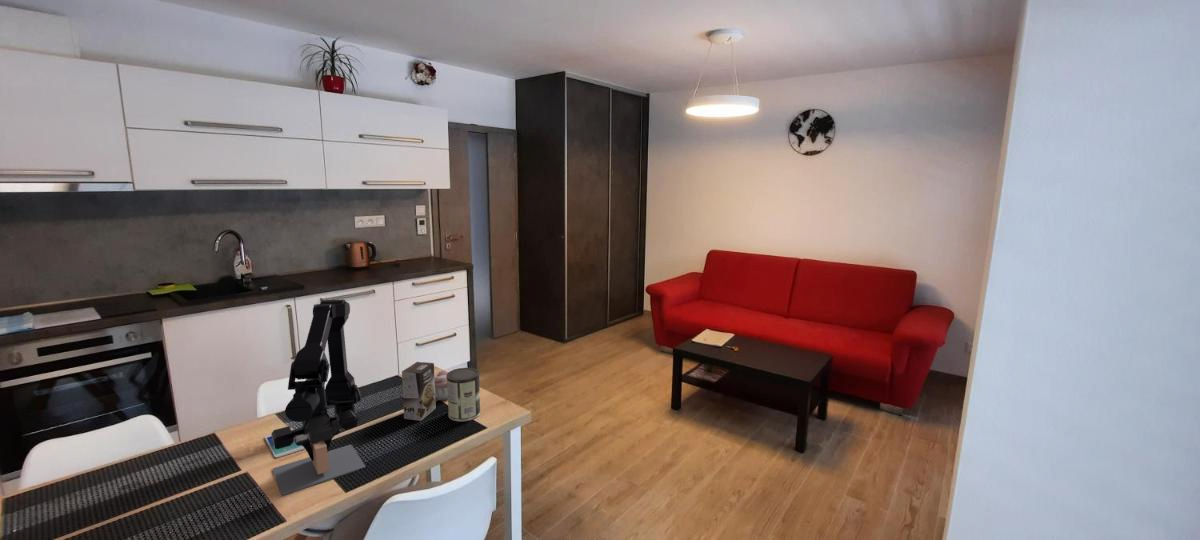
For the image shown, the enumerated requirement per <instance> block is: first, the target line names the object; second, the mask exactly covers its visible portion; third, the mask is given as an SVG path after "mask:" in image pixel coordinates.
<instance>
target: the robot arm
mask: <svg viewBox="0 0 1200 540" xmlns="http://www.w3.org/2000/svg"><path fill="white" fill-rule="evenodd" d="M350 312H351V305H350V303H349V302H348V301H346V300H345V299H342V298H341V299H321V300H320V302H319V303H316V304H313V307H312V319H311V323H310V327H309V330H308V334H307V337H306V341H305V344H304V346H303V347H302V348H301V349H300V350H298V351H297V353H296V354H295V357H294V359H293V361H292V362H291V364H290V371H289V377H288V384H287V390H289V391H293V390H294V393H293V395H292V398H291V400H290V401H289V402H288V403H287V405H286V406H285V409H284V413H285V416H286V418H288V419H289V420H290V421H292V422H294V423H301V426H302V427H300V428H296V429H294V430H292V431H291V427H290V425H289V426H285V427H281V428H276V429H273V430H272V431H271V433H270V434H271V435H272V441H273V444H274V447H275V449H280V448H284V447H287V446H291V444H292V443H293V442H294V441H295V443H296V445H297V446H300V445H302V446H303V447H304V448H305V451H306V452H307V455H308V457H310V458H311V460H312V461H314V458H313V452H312V449H311V445H310V442H311V443H318V442H320V441H323V440H324V442H325V444H326V446H327V452H328V451H329V448H330V445H331V442H332V441H333V438H334V437H336V436H338V435H339V434H340V430H341V429H343V430H345V431H346V430H350V429H354V428H356V427H358V426H359V425H358V421H360V419H359V416H357V414H356V406H355V405H356V404H358V403H359V402H361V401H362V396H361V390H360V389H359V387H358V385H357V384H356V382H355V377H354V376H353V375H352V374H351V373H350V372H349V370H348V362H347V361H348V360H347V351H346V350H347V349H346V338H345V325H346V323H347V321H348V319H349V318H350V316H349V315H350ZM326 347H327V349H328V358H329V359H328V358H327V355H326V353H325V351H326ZM329 372H330V378H329ZM296 380H297V381H296ZM326 382H327V383H326ZM327 406H328V407H329V406H333V412H334V416H330V415H329V413H328V410H327ZM308 435H309V438H310V440H309V438H308Z"/></svg>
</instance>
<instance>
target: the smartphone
mask: <svg viewBox="0 0 1200 540" xmlns="http://www.w3.org/2000/svg"><path fill="white" fill-rule="evenodd" d="M290 429H291V431H292V430H295V429H294V428H291V427H290ZM271 434H272V433H270V434H266V435H265V436H264V439H265V443H266V445H267V446H268V447H269V449H270V451H271V453H272V456H273V457H274V458H275V459H280V458H284V457H286V456H290V455H293V454H296V453H299V452H303V451H306V449H305V448H304V447H303V446H302V445H300V446H297V445H296V443H295V441H294V442H293V443H292V444H291V446H287V447H284V448H280V449H275V447H274V444H273V441H272V435H271Z"/></svg>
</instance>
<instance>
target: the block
mask: <svg viewBox="0 0 1200 540" xmlns="http://www.w3.org/2000/svg"><path fill="white" fill-rule="evenodd" d="M308 438H309V435H308ZM309 440H310V438H309ZM310 445H311V449H312V452H313V458H314V461H312V463H313V465H314V467H315V469H316V471H317V473H318V474H321V473H324V472H327V471H329V465H328V454H327V446H326V444H325V442H324V440H323V441H320V442H318V443H311V442H310Z"/></svg>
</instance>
